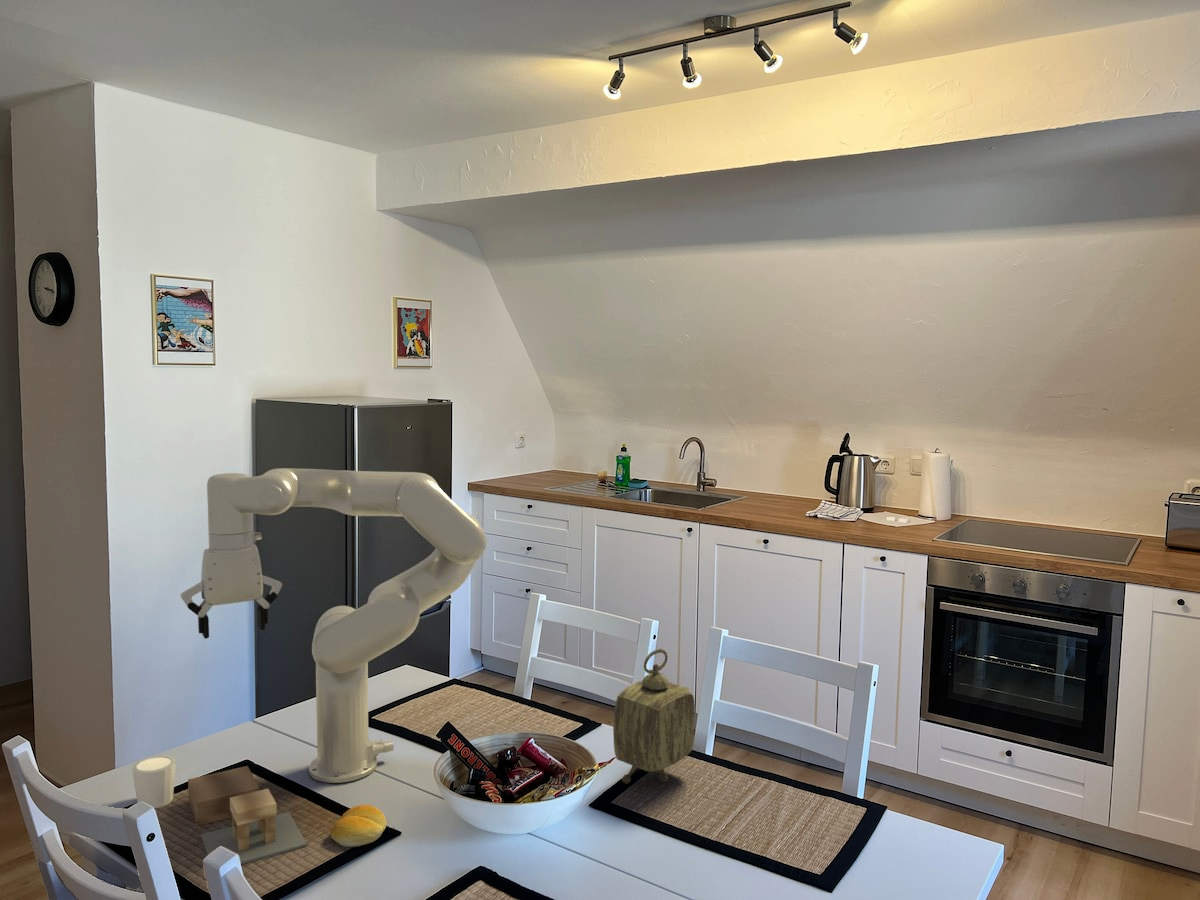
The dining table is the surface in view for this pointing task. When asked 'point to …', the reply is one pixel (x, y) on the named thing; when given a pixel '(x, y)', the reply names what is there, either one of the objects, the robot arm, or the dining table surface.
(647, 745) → the tabletop clock
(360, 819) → the bread roll
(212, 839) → the mat
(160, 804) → the cream cup
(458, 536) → the robot arm
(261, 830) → the stool
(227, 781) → the step
